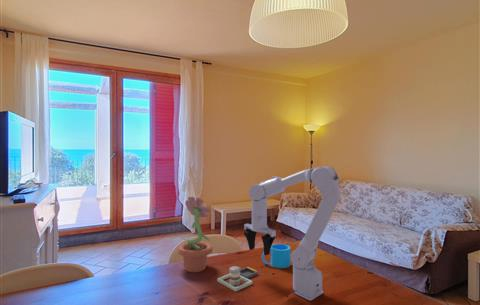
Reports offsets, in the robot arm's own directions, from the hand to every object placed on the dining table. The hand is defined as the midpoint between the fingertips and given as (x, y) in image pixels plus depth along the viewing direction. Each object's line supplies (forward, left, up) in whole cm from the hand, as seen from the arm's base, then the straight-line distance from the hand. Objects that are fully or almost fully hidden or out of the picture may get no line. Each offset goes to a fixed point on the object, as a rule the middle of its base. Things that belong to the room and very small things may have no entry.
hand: (259, 251), depth 105 cm
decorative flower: (+22, +13, -11) cm, 28 cm away
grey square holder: (+4, +2, -10) cm, 11 cm away
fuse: (+2, +10, -10) cm, 14 cm away
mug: (+3, -14, -11) cm, 18 cm away
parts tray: (+2, +10, -10) cm, 15 cm away
